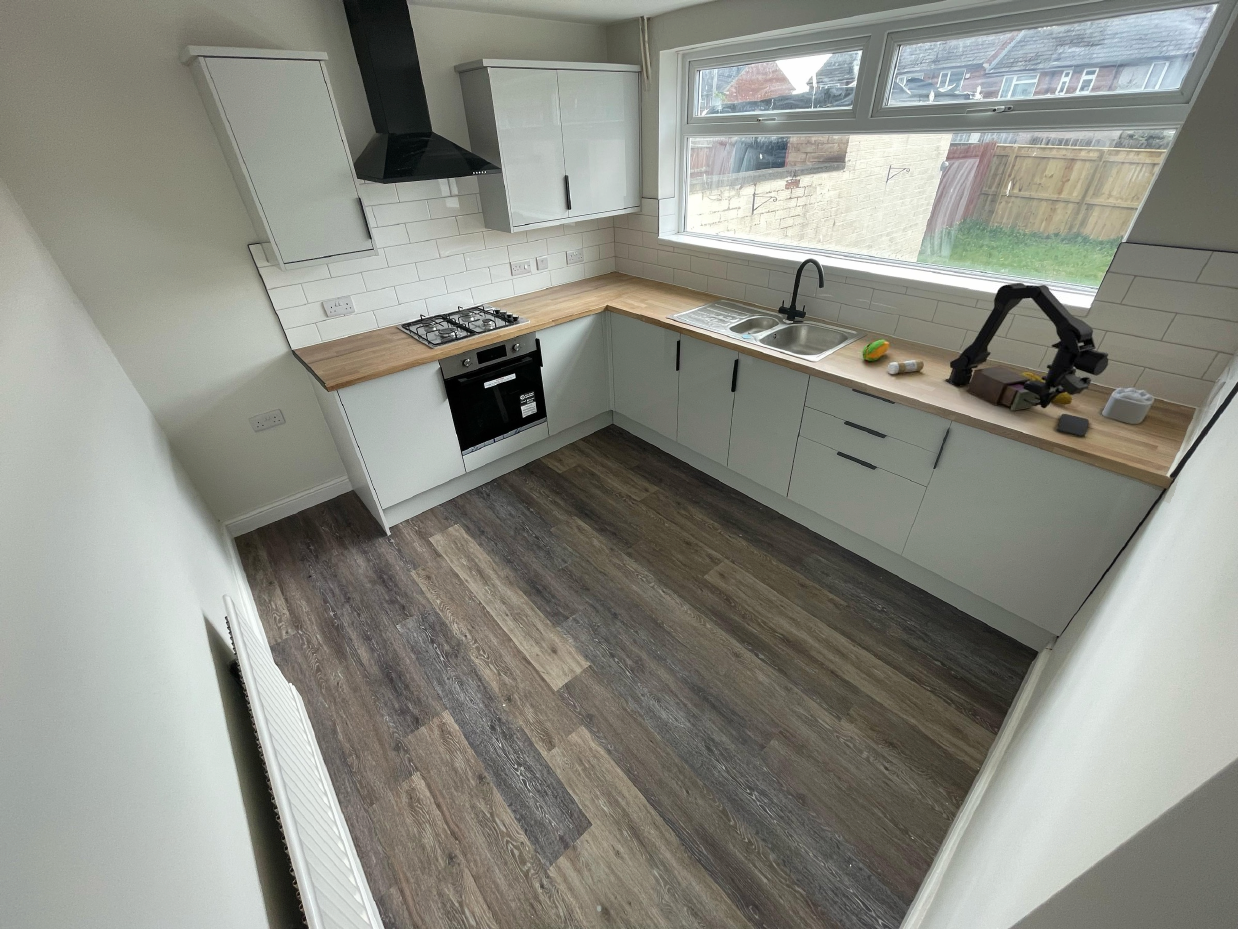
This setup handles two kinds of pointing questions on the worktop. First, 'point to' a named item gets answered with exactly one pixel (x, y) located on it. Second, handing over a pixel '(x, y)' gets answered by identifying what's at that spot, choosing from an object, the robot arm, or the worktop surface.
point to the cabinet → (993, 382)
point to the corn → (875, 350)
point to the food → (1060, 399)
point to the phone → (1073, 425)
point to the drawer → (1018, 397)
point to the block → (1018, 387)
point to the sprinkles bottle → (905, 366)
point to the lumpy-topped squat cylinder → (1128, 405)
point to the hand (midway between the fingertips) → (1043, 407)
